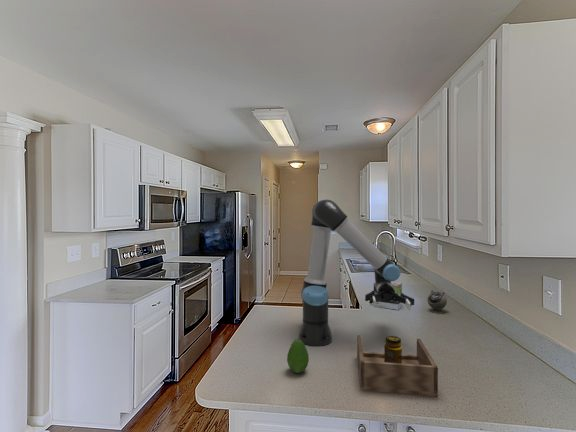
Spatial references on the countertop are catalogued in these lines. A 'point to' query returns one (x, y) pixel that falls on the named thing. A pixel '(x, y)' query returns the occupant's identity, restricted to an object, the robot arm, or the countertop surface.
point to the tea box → (391, 304)
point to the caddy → (398, 372)
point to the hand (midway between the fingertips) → (391, 305)
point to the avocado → (297, 356)
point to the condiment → (393, 350)
